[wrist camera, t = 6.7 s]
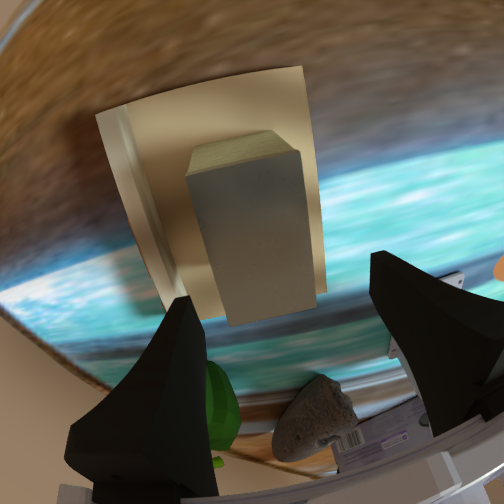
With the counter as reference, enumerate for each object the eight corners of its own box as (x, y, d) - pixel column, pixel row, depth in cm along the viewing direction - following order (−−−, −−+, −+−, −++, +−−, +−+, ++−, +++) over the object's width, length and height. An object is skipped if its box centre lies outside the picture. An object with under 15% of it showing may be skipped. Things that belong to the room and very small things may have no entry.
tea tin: (192, 145, 17) (185, 176, 12) (273, 128, 17) (301, 151, 12) (223, 264, 21) (229, 326, 16) (292, 248, 21) (317, 306, 16)
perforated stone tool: (287, 433, 38) (297, 477, 32) (252, 430, 36) (259, 477, 30) (355, 365, 31) (377, 417, 25) (316, 359, 30) (335, 417, 24)
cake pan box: (327, 446, 42) (354, 542, 27) (319, 437, 40) (349, 543, 25) (437, 396, 40) (482, 483, 25) (439, 382, 38) (489, 477, 23)
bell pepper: (130, 372, 28) (117, 463, 19) (174, 325, 25) (168, 433, 17) (199, 402, 31) (203, 486, 23) (250, 364, 29) (266, 459, 20)
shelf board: (322, 282, 25) (337, 313, 22) (183, 313, 25) (180, 347, 22) (296, 66, 17) (315, 64, 13) (112, 108, 16) (91, 116, 13)
